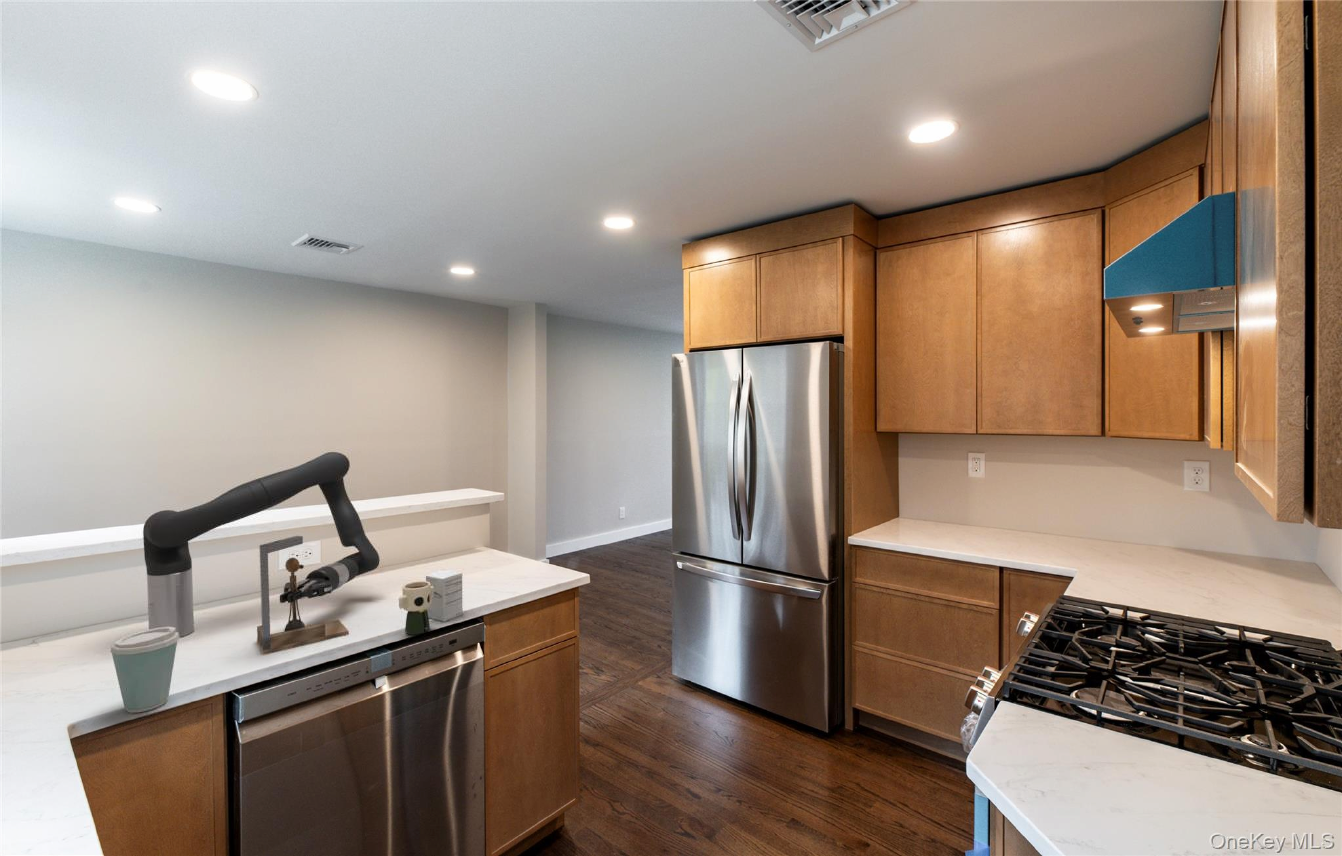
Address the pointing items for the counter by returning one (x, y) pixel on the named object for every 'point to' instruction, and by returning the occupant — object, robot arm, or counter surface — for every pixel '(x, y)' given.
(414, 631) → the character mug
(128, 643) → the disposable coffee cup
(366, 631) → the counter surface
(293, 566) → the wooden tabletop sculpture
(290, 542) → the stand
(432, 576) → the supplement box
